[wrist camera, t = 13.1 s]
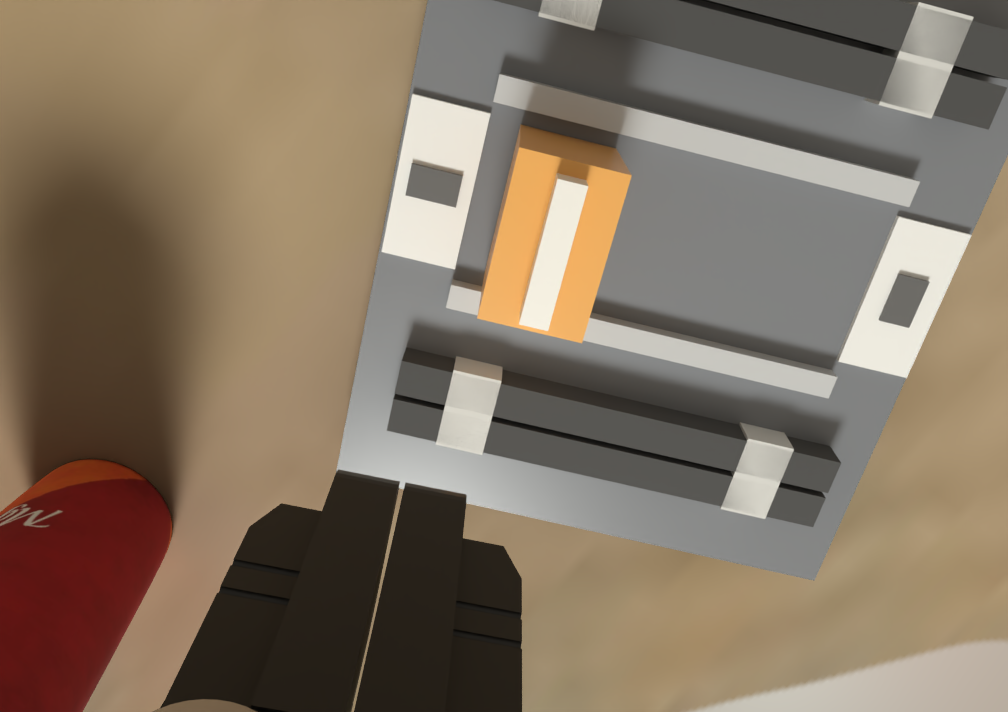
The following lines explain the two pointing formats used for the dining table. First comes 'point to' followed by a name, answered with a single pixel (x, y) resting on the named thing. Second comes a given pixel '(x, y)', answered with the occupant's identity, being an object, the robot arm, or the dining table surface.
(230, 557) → the dining table surface
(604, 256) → the block
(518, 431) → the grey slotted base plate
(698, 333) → the breaker panel
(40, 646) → the paper cup
